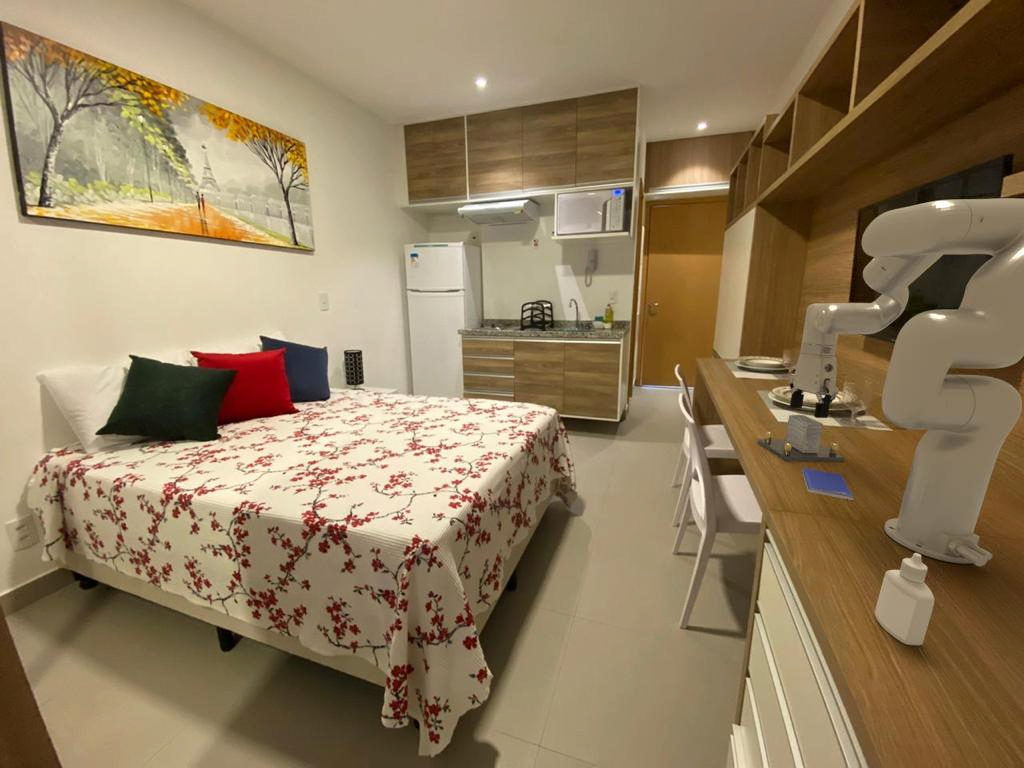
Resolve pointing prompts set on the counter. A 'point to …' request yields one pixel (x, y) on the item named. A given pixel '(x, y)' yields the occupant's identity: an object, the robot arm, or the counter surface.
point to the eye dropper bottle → (906, 602)
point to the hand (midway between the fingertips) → (807, 412)
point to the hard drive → (826, 484)
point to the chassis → (792, 454)
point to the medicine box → (804, 433)
